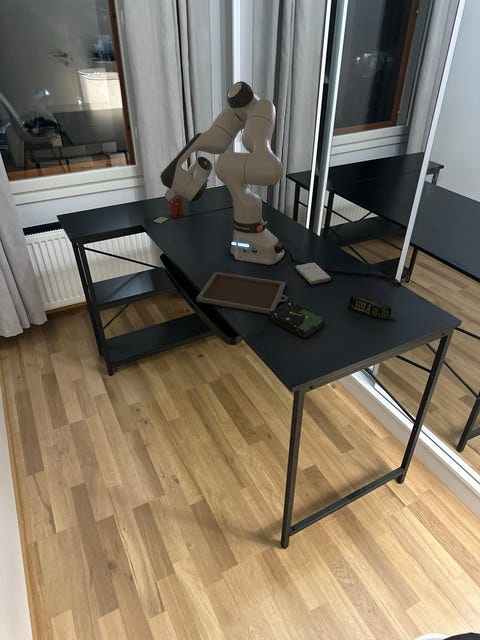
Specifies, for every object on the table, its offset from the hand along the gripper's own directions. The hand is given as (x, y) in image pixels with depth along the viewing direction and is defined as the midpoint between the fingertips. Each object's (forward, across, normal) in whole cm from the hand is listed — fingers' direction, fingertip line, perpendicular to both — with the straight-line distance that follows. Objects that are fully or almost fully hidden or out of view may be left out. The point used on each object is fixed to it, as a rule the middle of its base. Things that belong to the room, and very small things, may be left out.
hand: (180, 198), depth 202 cm
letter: (+9, 0, +4) cm, 10 cm away
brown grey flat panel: (-44, +23, +57) cm, 75 cm away
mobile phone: (-70, 0, +83) cm, 108 cm away
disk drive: (-60, +22, +73) cm, 97 cm away
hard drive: (-49, -5, +62) cm, 79 cm away
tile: (+9, +10, +4) cm, 14 cm away
